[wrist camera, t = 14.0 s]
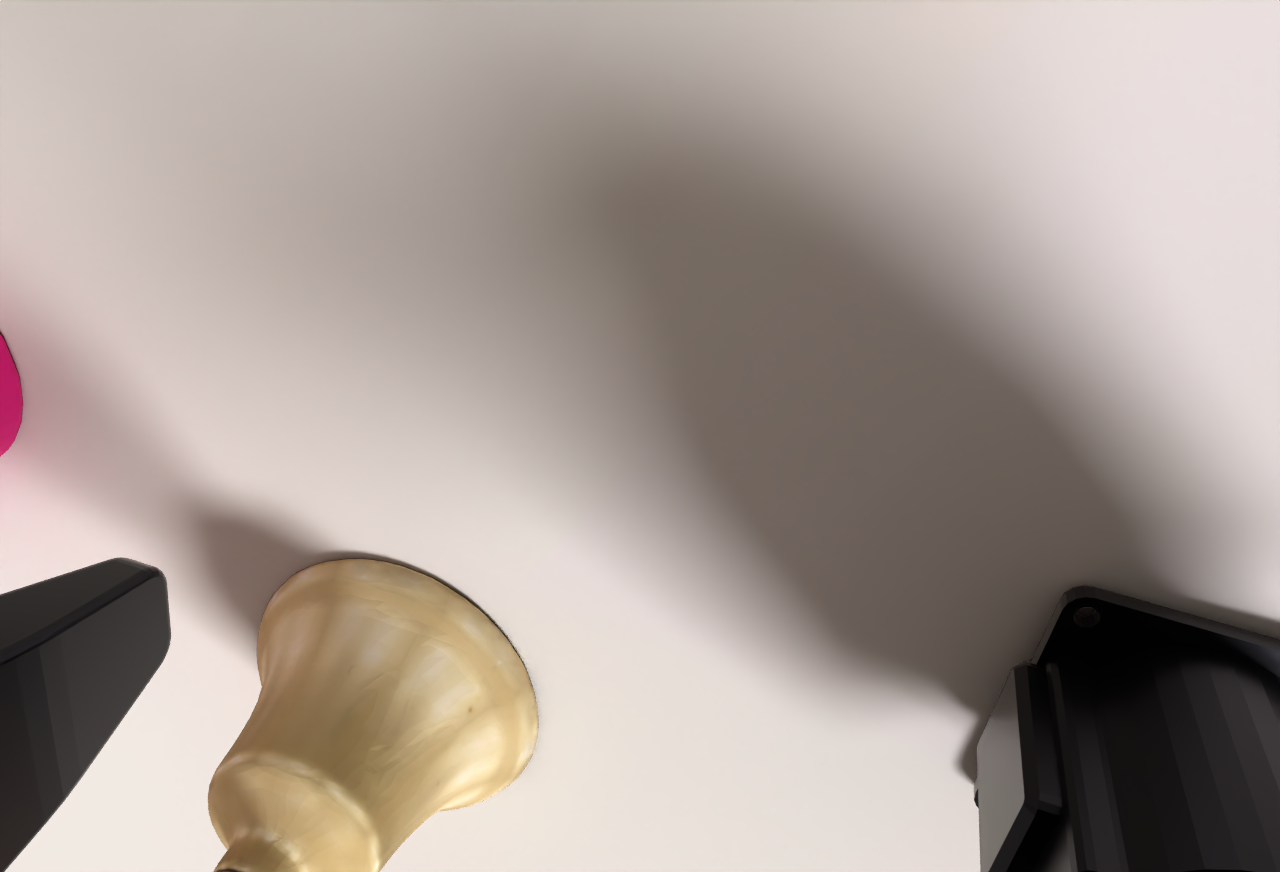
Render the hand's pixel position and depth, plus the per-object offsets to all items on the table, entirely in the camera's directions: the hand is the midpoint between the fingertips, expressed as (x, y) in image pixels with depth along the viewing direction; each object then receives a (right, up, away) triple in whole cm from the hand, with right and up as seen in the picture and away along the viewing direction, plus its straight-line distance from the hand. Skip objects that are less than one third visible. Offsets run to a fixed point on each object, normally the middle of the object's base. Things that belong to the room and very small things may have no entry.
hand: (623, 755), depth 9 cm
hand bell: (-6, -4, +19) cm, 21 cm away
